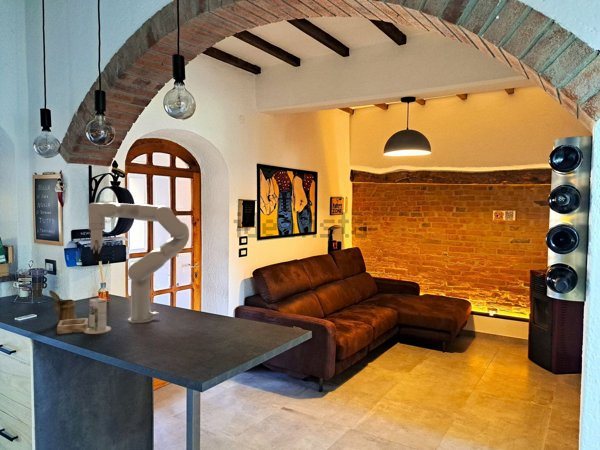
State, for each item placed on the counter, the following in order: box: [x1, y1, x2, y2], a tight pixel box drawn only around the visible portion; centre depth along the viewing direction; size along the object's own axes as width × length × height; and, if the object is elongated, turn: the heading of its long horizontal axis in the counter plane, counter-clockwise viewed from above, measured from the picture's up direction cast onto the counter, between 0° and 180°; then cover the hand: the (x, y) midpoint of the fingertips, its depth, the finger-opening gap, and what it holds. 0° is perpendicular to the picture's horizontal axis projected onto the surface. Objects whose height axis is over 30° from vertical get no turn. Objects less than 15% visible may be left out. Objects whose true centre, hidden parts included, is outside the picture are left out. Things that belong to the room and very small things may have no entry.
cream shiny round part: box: [83, 325, 112, 335], centre depth 211 cm, size 12×12×1 cm
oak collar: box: [56, 317, 89, 335], centre depth 212 cm, size 12×12×4 cm
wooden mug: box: [49, 290, 78, 325], centre depth 222 cm, size 9×14×18 cm, turn 149°
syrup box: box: [88, 297, 107, 331], centre depth 211 cm, size 6×6×14 cm
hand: (97, 259), depth 225 cm, fingers open, 9 cm apart
